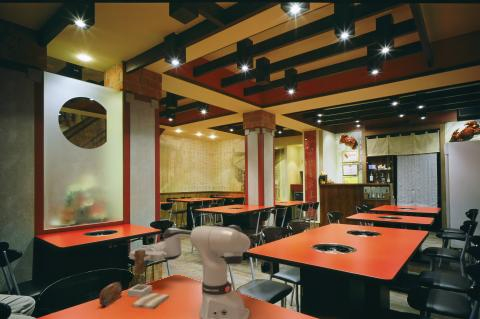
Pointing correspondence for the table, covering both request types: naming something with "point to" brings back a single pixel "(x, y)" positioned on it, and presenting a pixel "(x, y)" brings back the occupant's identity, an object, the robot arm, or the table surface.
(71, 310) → the table surface
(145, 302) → the board
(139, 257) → the peg
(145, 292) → the holder
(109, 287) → the tin
